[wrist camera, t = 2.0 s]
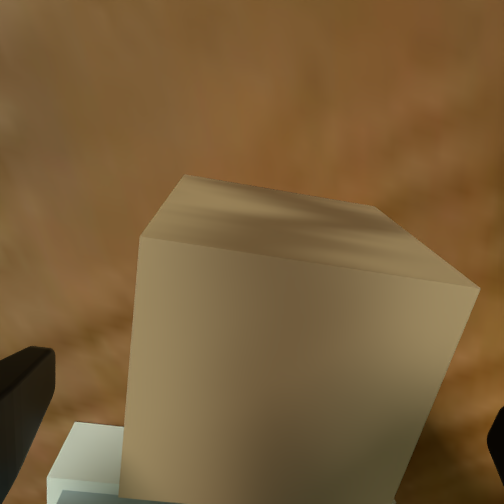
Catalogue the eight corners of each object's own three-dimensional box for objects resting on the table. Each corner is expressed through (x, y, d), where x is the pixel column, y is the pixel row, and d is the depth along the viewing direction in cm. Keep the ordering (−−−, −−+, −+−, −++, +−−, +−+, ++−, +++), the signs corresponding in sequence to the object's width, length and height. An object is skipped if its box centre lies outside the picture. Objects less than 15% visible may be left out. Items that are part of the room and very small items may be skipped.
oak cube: (373, 205, 13) (480, 288, 7) (328, 362, 15) (384, 522, 9) (184, 174, 12) (139, 236, 7) (165, 341, 14) (118, 497, 9)
